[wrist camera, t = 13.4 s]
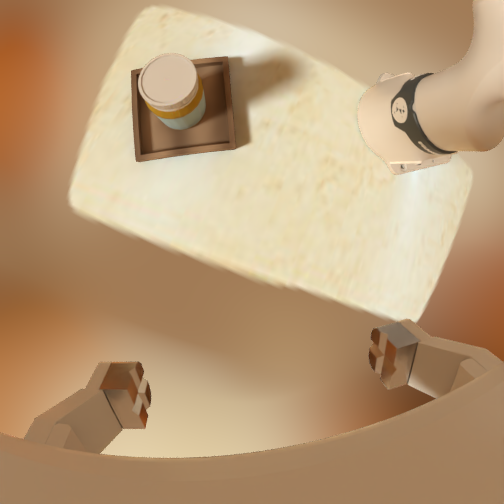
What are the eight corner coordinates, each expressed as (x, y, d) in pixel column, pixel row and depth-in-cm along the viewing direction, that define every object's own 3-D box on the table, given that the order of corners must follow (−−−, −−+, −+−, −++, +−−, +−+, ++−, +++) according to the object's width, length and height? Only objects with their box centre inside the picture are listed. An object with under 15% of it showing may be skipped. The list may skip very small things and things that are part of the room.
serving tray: (227, 62, 39) (227, 56, 36) (234, 149, 43) (235, 148, 40) (135, 75, 37) (131, 70, 35) (140, 162, 41) (135, 161, 39)
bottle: (151, 120, 39) (122, 97, 25) (173, 81, 38) (154, 41, 23) (192, 137, 41) (180, 120, 26) (214, 97, 39) (213, 62, 25)
